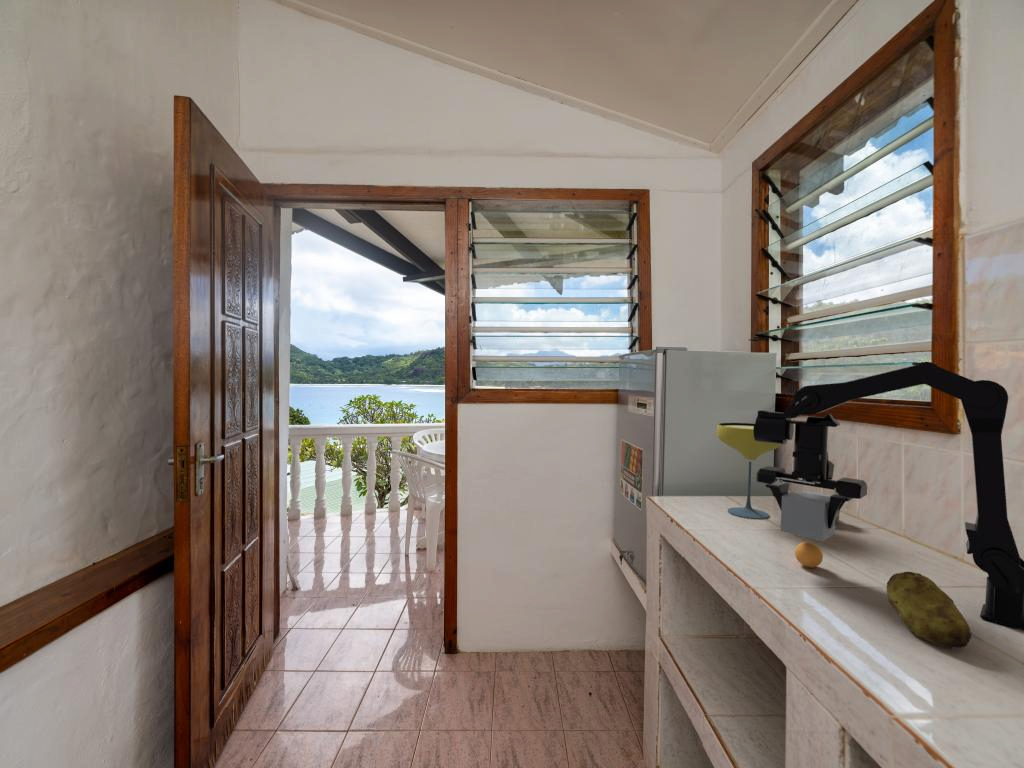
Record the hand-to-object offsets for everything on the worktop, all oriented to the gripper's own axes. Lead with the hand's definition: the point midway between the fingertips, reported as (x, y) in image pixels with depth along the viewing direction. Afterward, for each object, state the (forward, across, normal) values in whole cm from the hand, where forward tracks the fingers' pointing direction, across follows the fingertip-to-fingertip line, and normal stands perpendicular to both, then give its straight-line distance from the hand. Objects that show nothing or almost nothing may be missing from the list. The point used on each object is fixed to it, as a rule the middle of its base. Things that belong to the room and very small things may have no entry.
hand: (807, 523), depth 102 cm
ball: (+7, 0, -2) cm, 7 cm away
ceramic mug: (+10, +9, -43) cm, 45 cm away
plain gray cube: (+2, 0, 0) cm, 2 cm away
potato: (+10, -20, +13) cm, 26 cm away
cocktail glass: (+10, +25, -33) cm, 42 cm away
